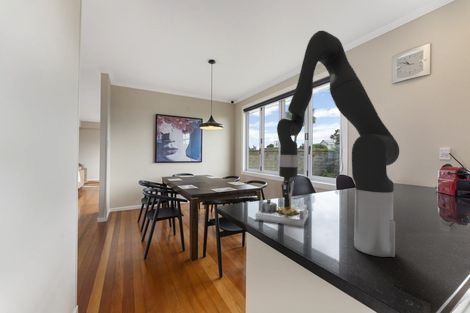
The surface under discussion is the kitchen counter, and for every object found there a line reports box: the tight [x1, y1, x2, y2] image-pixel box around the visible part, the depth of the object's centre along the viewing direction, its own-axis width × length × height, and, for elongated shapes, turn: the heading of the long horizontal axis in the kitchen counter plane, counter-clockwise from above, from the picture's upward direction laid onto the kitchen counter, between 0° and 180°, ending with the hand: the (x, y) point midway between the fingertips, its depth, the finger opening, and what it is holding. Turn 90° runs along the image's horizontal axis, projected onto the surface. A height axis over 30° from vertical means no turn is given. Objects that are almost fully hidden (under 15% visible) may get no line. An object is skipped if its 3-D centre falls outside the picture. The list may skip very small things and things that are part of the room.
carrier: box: [255, 198, 309, 228], centre depth 90 cm, size 19×16×7 cm
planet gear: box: [278, 193, 298, 216], centre depth 89 cm, size 8×8×8 cm
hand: (287, 206), depth 89 cm, fingers closed on planet gear, 3 cm apart
